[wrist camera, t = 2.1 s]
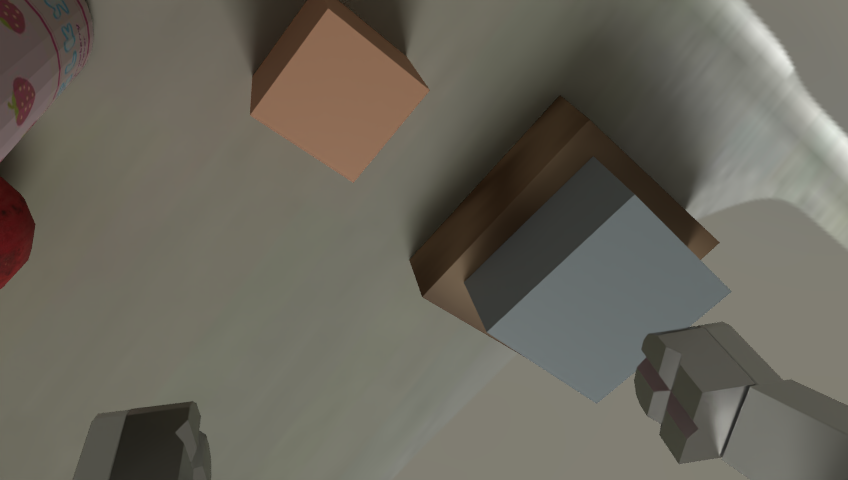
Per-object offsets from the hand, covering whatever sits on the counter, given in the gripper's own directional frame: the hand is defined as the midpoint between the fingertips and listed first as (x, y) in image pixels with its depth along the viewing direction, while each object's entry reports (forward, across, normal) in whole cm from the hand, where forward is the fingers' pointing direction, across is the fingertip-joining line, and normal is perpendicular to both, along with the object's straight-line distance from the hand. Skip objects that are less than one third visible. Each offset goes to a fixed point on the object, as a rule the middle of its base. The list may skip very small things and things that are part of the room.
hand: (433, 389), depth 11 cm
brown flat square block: (+21, -12, +11) cm, 26 cm away
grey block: (+17, -12, +11) cm, 23 cm away
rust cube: (+21, 0, 0) cm, 21 cm away
